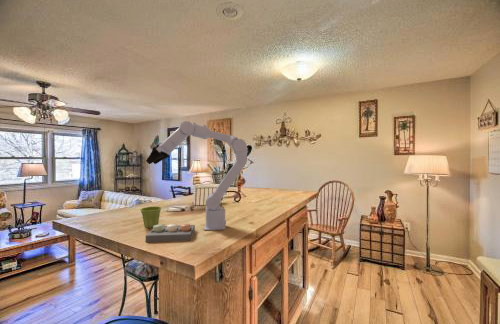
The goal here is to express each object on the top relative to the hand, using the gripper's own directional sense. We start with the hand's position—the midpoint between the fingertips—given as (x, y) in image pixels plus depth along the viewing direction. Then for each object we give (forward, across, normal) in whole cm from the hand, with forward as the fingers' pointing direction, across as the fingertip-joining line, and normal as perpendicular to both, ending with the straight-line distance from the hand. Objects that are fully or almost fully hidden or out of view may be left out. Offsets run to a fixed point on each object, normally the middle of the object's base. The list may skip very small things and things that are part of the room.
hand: (150, 162), depth 103 cm
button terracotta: (+8, +9, +33) cm, 35 cm away
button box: (+13, +9, +30) cm, 34 cm away
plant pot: (+23, -6, +21) cm, 32 cm away
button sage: (+16, +9, +25) cm, 31 cm away
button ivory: (+12, +9, +29) cm, 33 cm away
